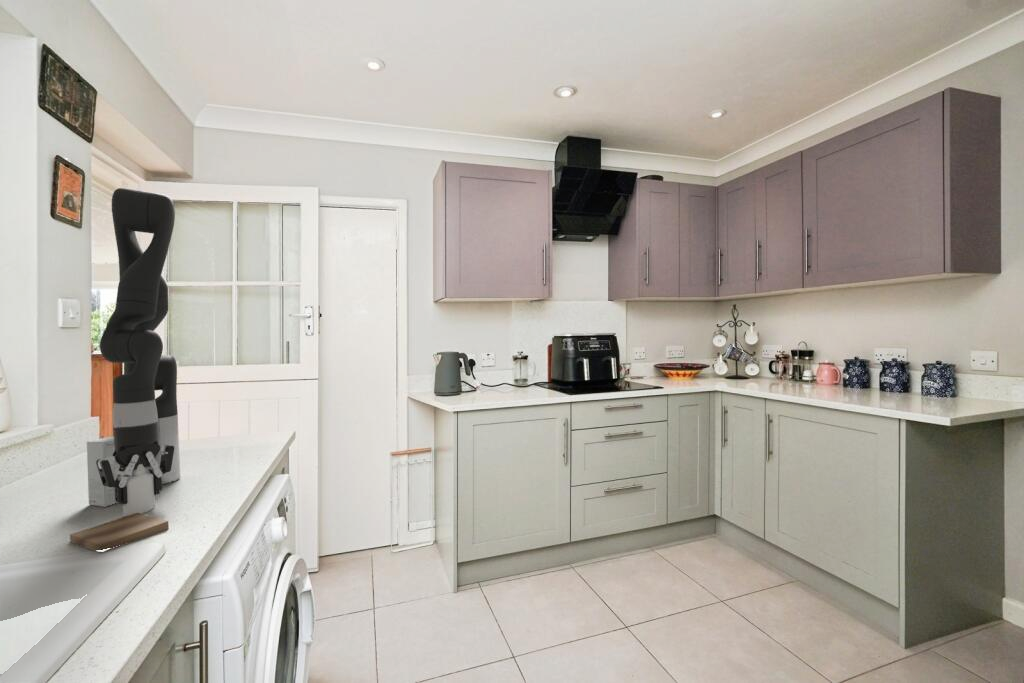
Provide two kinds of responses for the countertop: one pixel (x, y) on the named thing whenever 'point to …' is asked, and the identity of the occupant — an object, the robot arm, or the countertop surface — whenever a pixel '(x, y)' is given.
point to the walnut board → (119, 531)
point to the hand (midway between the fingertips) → (139, 498)
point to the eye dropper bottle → (139, 492)
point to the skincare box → (96, 490)
